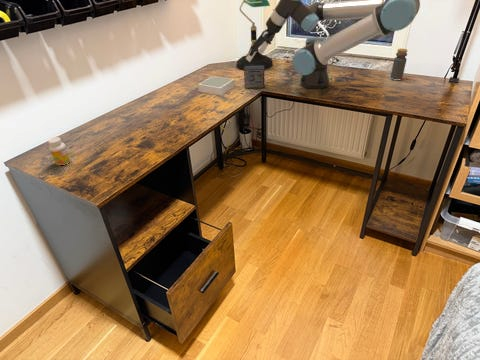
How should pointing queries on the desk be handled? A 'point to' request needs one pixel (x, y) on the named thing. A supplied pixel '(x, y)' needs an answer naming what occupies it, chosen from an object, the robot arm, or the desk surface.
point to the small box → (254, 77)
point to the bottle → (399, 64)
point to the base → (216, 85)
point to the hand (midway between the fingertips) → (254, 56)
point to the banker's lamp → (258, 59)
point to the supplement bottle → (59, 151)
